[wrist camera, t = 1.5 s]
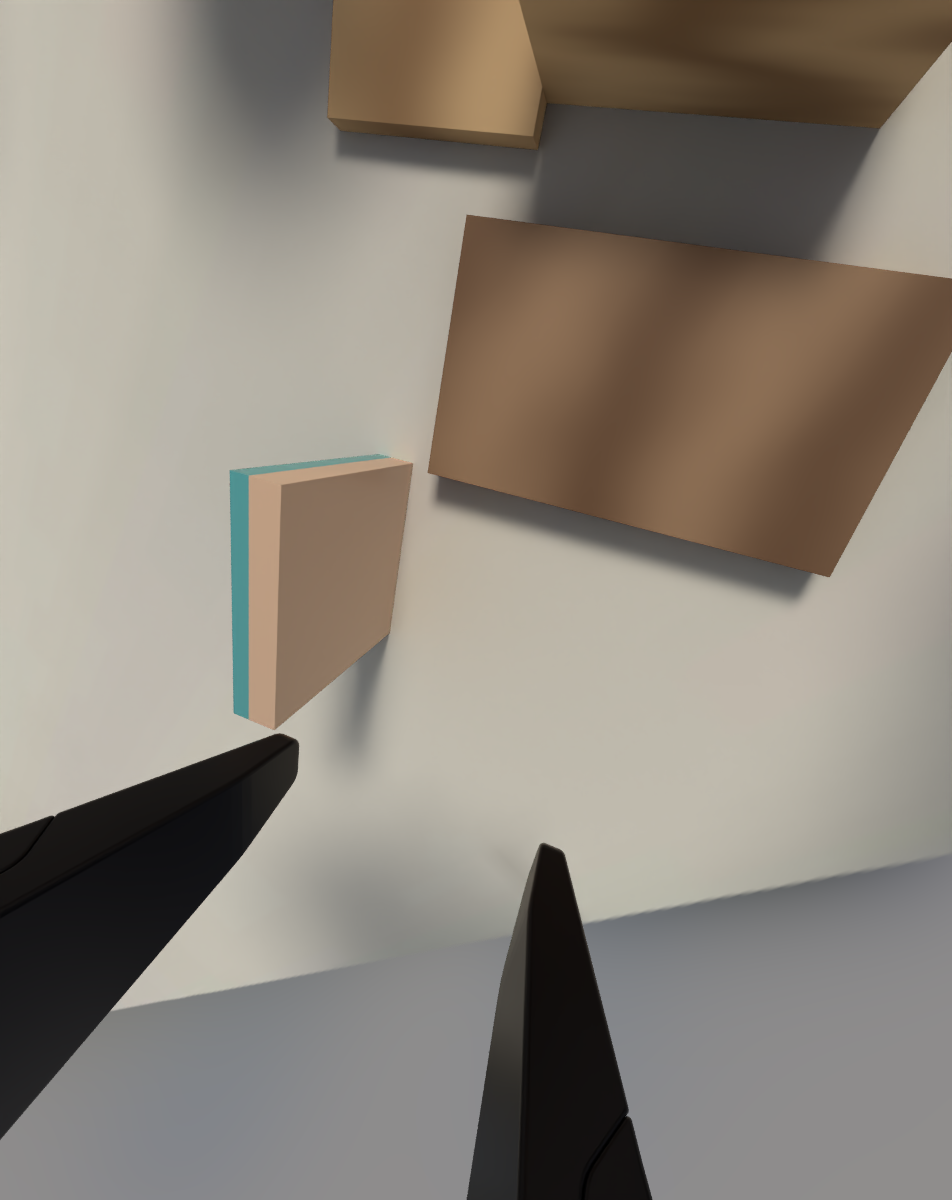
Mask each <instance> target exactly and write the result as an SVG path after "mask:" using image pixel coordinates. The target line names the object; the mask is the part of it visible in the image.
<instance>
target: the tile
mask: <svg viewBox="0 0 952 1200" xmlns="http://www.w3.org/2000/svg"><path fill="white" fill-rule="evenodd" d="M412 467H413V463H410V462H406V461H403V460H399V459H395V458H391V457H387V456H383V455H379V454H376V455H367V456H357V457H348V458H339V459H329V460H320V461H311V462H301V463H292V464H283V465H274V466H264V467H255V468H246V469H236V470H230V514H231V575H232V637H233V699H234V714H237V715H239V716H242V717H244V718H246V719H249V720H251V721H254V722H256V723H258V724H261V725H263V726H266V727H268V728H270V729H273V730H275V729H276V728H278V727H279V726H280V725H281V724H282V723H284V722H285V721H286V720H287V719H288V718H289V717H291V716H292V715H293V714H294V713H295V712H297V711H298V710H299V709H300V708H301V707H303V706H304V705H305V704H306V703H307V702H308V701H310V700H311V699H312V698H313V697H314V696H316V695H317V694H318V693H319V692H320V691H321V690H323V689H324V688H325V687H326V686H327V685H329V684H330V683H331V682H332V681H333V680H335V679H336V678H337V677H338V676H339V675H340V674H342V673H343V672H344V671H345V670H346V669H348V668H349V667H350V666H351V665H352V664H353V663H355V662H356V661H357V660H358V659H359V658H361V657H362V656H363V655H364V654H365V653H367V652H368V651H369V650H370V649H371V648H372V647H374V646H375V645H376V644H377V643H378V642H380V641H381V640H382V639H383V638H384V637H385V636H387V635H388V634H389V633H390V627H391V619H392V612H393V605H394V598H395V590H396V583H397V576H398V568H399V561H400V554H401V547H402V539H403V532H404V525H405V518H406V510H407V503H408V496H409V489H410V481H411V474H412Z"/></svg>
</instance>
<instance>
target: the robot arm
mask: <svg viewBox="0 0 952 1200" xmlns="http://www.w3.org/2000/svg"><path fill="white" fill-rule="evenodd" d="M298 758H299V743H298V741H297V740H296V739H294V738H291V737H289V736H287V735H284V734H280V733H279V734H274V735H272V736H269V737H266V738H263V739H261V740H258V741H255V742H252V743H250V744H247V745H244V746H241V747H239V748H236V749H233V750H230V751H228V752H225V753H222V754H219V755H217V756H214V757H211V758H208V759H206V760H203V761H200V762H197V763H195V764H192V765H189V766H186V767H184V768H181V769H178V770H175V771H173V772H170V773H167V774H164V775H162V776H159V777H156V778H153V779H151V780H148V781H145V782H142V783H140V784H137V785H134V786H131V787H129V788H126V789H123V790H120V791H118V792H115V793H112V794H109V795H107V796H104V797H101V798H98V799H96V800H93V801H90V802H88V803H85V804H82V805H79V806H77V807H74V808H71V809H68V810H66V811H63V812H60V813H58V814H57V815H56V816H55V817H54V816H49V817H46V818H43V819H40V820H38V821H35V822H32V823H29V824H27V825H24V826H21V827H18V828H15V829H12V830H10V831H7V832H4V833H1V834H0V1140H1V1138H2V1137H3V1136H4V1135H5V1134H6V1132H7V1131H8V1130H9V1129H10V1128H11V1127H12V1125H13V1124H14V1123H15V1122H16V1121H17V1120H18V1118H19V1117H20V1116H21V1115H22V1114H23V1112H24V1111H25V1110H26V1109H27V1108H28V1106H29V1105H30V1104H31V1103H32V1102H33V1101H34V1100H35V1098H36V1097H37V1096H38V1095H39V1094H40V1093H41V1091H42V1090H43V1089H44V1088H45V1087H46V1086H47V1084H48V1083H49V1082H50V1081H51V1080H52V1078H53V1077H54V1076H55V1075H56V1074H57V1072H58V1071H59V1070H60V1069H61V1068H62V1067H63V1066H64V1064H65V1063H66V1062H67V1061H68V1060H69V1058H70V1057H71V1056H72V1055H73V1054H74V1053H75V1051H76V1050H77V1049H78V1048H79V1047H80V1045H81V1044H82V1043H83V1042H84V1041H85V1040H86V1038H87V1037H88V1036H89V1035H90V1034H91V1032H93V1030H94V1029H95V1028H96V1027H97V1026H98V1024H99V1023H100V1022H101V1021H102V1020H103V1019H104V1017H105V1016H106V1015H107V1014H108V1013H109V1012H110V1010H111V1009H112V1008H113V1007H114V1006H115V1004H116V1003H117V1002H118V1001H119V1000H120V999H121V997H122V996H123V995H124V994H125V993H126V992H127V990H128V989H129V988H130V987H131V986H132V985H133V983H134V982H135V981H136V980H137V979H138V977H139V976H140V975H141V974H142V973H143V972H144V970H145V969H146V968H147V967H148V966H149V965H150V963H151V962H152V961H153V960H154V959H155V958H156V956H157V955H158V954H159V953H160V952H161V950H162V949H163V948H164V947H165V946H166V945H167V943H168V942H169V941H170V940H171V939H172V938H173V936H174V935H175V934H176V933H177V932H178V931H179V929H180V928H181V927H182V926H183V925H184V923H185V922H186V921H187V920H188V919H189V918H190V916H191V915H192V914H193V913H194V912H195V911H196V909H197V908H198V907H199V906H200V905H201V904H202V902H203V901H204V900H205V899H206V898H207V896H208V895H209V894H210V893H211V892H212V891H213V889H214V888H215V887H216V886H217V885H218V884H219V882H220V881H221V880H222V879H223V878H224V877H225V875H226V874H227V873H228V872H229V871H230V869H231V868H232V867H233V866H234V865H235V863H236V862H237V861H238V860H239V859H240V857H241V856H242V855H243V854H244V852H245V851H246V849H247V848H248V847H249V845H250V844H251V843H252V841H253V840H254V838H255V837H256V836H257V834H258V833H259V831H260V830H261V828H262V827H263V826H264V824H265V823H266V821H267V820H268V818H269V817H270V816H271V814H272V813H273V811H274V810H275V808H276V807H277V806H278V804H279V803H280V801H281V800H282V798H283V797H284V796H285V794H286V793H287V791H288V790H289V788H290V787H291V786H292V784H293V783H294V781H295V779H296V776H297V772H298ZM628 1111H629V1109H628V1105H627V1101H626V1097H625V1093H624V1089H623V1085H622V1081H621V1077H620V1073H619V1069H618V1065H617V1061H616V1057H615V1053H614V1049H613V1045H612V1041H611V1037H610V1033H609V1029H608V1025H607V1021H606V1017H605V1013H604V1009H603V1005H602V1001H601V997H600V993H599V990H598V986H597V981H596V978H595V973H594V969H593V965H592V961H591V957H590V953H589V949H588V945H587V941H586V937H585V934H584V929H583V925H582V921H581V917H580V913H579V909H578V905H577V901H576V897H575V893H574V889H573V885H572V881H571V878H570V874H569V870H568V866H567V862H566V858H565V855H564V853H563V851H562V850H560V849H558V848H555V847H553V846H550V845H548V844H546V843H541V844H540V845H539V848H538V850H537V853H536V856H535V859H534V861H533V864H532V867H531V870H530V872H529V875H528V879H527V882H526V886H525V889H524V893H523V897H522V901H521V904H520V908H519V912H518V916H517V920H516V923H515V927H514V931H513V935H512V939H511V942H510V946H509V950H508V954H507V958H506V961H505V965H504V969H503V974H502V978H501V983H500V988H499V994H498V1000H497V1007H496V1013H495V1019H494V1026H493V1032H492V1039H491V1045H490V1052H489V1058H488V1065H487V1071H486V1078H485V1084H484V1091H483V1097H482V1104H481V1110H480V1117H479V1123H478V1130H477V1137H476V1143H475V1149H474V1156H473V1162H472V1169H471V1175H470V1182H469V1189H468V1195H467V1200H652V1196H651V1192H650V1189H649V1185H648V1181H647V1178H646V1174H645V1170H644V1167H643V1163H642V1159H641V1155H640V1151H639V1147H638V1144H637V1139H636V1135H635V1131H634V1127H633V1124H632V1120H631V1118H630V1117H628V1116H626V1115H627V1114H628Z"/></svg>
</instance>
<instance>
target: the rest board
mask: <svg viewBox="0 0 952 1200" xmlns="http://www.w3.org/2000/svg"><path fill="white" fill-rule="evenodd" d="M951 352H952V279H950V278H943V277H935V276H928V275H920V274H912V273H905V272H897V271H890V270H882V269H875V268H867V267H859V266H852V265H844V264H837V263H829V262H821V261H814V260H806V259H799V258H791V257H784V256H776V255H768V254H761V253H753V252H746V251H738V250H731V249H723V248H715V247H708V246H700V245H693V244H685V243H677V242H670V241H662V240H655V239H647V238H640V237H632V236H624V235H617V234H609V233H602V232H594V231H586V230H579V229H571V228H564V227H556V226H549V225H541V224H533V223H526V222H518V221H511V220H503V219H496V218H488V217H480V216H473V215H467V216H466V223H465V230H464V236H463V243H462V249H461V256H460V263H459V269H458V276H457V282H456V289H455V296H454V302H453V309H452V315H451V322H450V329H449V335H448V342H447V348H446V355H445V362H444V368H443V375H442V381H441V388H440V395H439V401H438V408H437V415H436V421H435V428H434V434H433V441H432V448H431V454H430V461H429V467H428V473H430V474H434V475H438V476H442V477H445V478H449V479H453V480H457V481H461V482H465V483H469V484H472V485H476V486H480V487H484V488H488V489H492V490H495V491H499V492H503V493H507V494H511V495H515V496H519V497H522V498H526V499H530V500H534V501H538V502H542V503H545V504H549V505H553V506H557V507H561V508H565V509H569V510H572V511H576V512H580V513H584V514H588V515H592V516H595V517H599V518H603V519H607V520H611V521H615V522H619V523H622V524H626V525H630V526H634V527H638V528H642V529H645V530H649V531H653V532H657V533H661V534H665V535H668V536H672V537H676V538H680V539H684V540H688V541H692V542H695V543H699V544H703V545H707V546H711V547H715V548H718V549H722V550H726V551H730V552H734V553H738V554H742V555H745V556H749V557H753V558H757V559H761V560H765V561H768V562H772V563H776V564H780V565H784V566H788V567H792V568H795V569H799V570H803V571H807V572H811V573H815V574H818V575H822V576H826V577H830V576H831V574H832V572H833V570H834V568H835V566H836V565H837V563H838V561H839V559H840V557H841V555H842V553H843V552H844V550H845V548H846V546H847V544H848V542H849V541H850V539H851V537H852V535H853V533H854V531H855V529H856V528H857V526H858V524H859V522H860V520H861V518H862V517H863V515H864V513H865V511H866V509H867V507H868V505H869V504H870V502H871V500H872V498H873V496H874V494H875V492H876V491H877V489H878V487H879V485H880V483H881V481H882V480H883V478H884V476H885V474H886V472H887V470H888V468H889V467H890V465H891V463H892V461H893V459H894V457H895V455H896V454H897V452H898V450H899V448H900V446H901V444H902V443H903V441H904V439H905V437H906V435H907V433H908V431H909V430H910V428H911V426H912V424H913V422H914V420H915V419H916V417H917V415H918V413H919V411H920V409H921V407H922V406H923V404H924V402H925V400H926V398H927V396H928V394H929V393H930V391H931V389H932V387H933V385H934V383H935V382H936V380H937V378H938V376H939V374H940V372H941V370H942V369H943V367H944V365H945V363H946V361H947V359H948V358H949V356H950V354H951Z"/></svg>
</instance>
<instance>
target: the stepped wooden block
mask: <svg viewBox="0 0 952 1200" xmlns="http://www.w3.org/2000/svg"><path fill="white" fill-rule="evenodd" d="M951 42H952V0H333V15H332V35H331V55H330V75H329V95H328V115H327V118H328V119H329V120H330V121H331V122H332V123H333V124H334V125H335V126H336V127H337V128H338V129H339V130H340V131H349V132H359V133H369V134H380V135H390V136H400V137H410V138H421V139H431V140H441V141H451V142H461V143H472V144H482V145H492V146H502V147H513V148H523V149H533V150H538V146H539V141H540V136H541V131H542V126H543V120H544V115H545V110H546V105H547V103H552V104H566V105H579V106H592V107H605V108H618V109H632V110H645V111H658V112H671V113H684V114H698V115H711V116H724V117H737V118H750V119H764V120H777V121H790V122H803V123H816V124H830V125H843V126H856V127H869V128H881V127H882V125H883V124H884V123H885V122H886V120H887V119H888V118H889V117H890V116H891V114H892V113H893V112H894V111H895V110H896V108H897V107H898V106H899V105H900V104H901V102H902V101H903V100H904V99H905V97H906V96H907V95H908V94H909V93H910V91H911V90H912V89H913V88H914V87H915V85H916V84H917V83H918V82H919V81H920V79H921V78H922V77H923V76H924V74H925V73H926V72H927V71H928V70H929V68H930V67H931V66H932V65H933V64H934V62H935V61H936V60H937V59H938V57H939V56H940V55H941V54H942V53H943V51H944V50H945V49H946V48H947V47H948V45H949V44H950V43H951Z"/></svg>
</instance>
